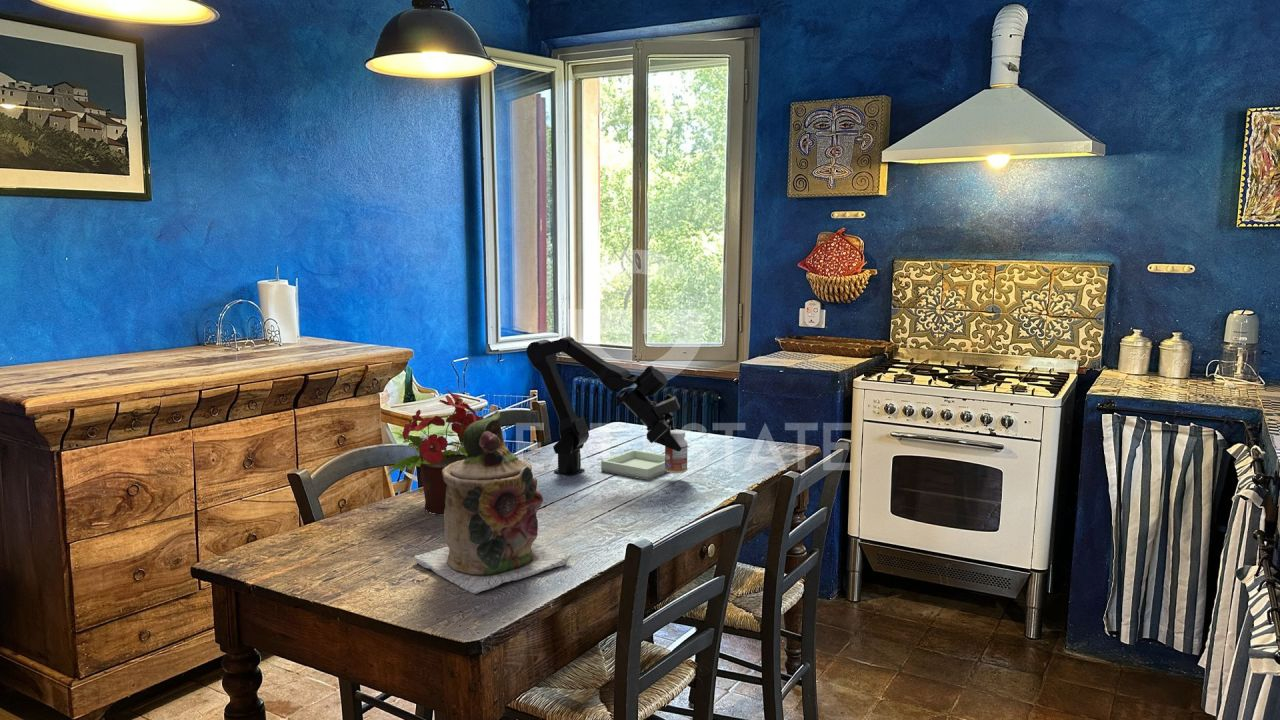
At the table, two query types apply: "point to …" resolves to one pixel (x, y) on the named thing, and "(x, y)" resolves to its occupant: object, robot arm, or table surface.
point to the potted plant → (436, 451)
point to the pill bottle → (677, 454)
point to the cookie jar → (490, 516)
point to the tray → (635, 464)
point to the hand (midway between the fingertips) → (681, 447)
